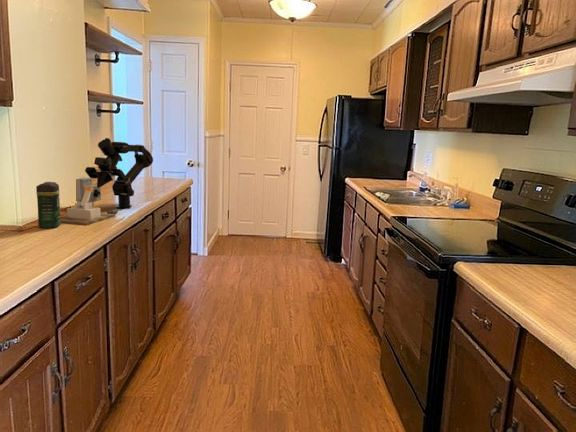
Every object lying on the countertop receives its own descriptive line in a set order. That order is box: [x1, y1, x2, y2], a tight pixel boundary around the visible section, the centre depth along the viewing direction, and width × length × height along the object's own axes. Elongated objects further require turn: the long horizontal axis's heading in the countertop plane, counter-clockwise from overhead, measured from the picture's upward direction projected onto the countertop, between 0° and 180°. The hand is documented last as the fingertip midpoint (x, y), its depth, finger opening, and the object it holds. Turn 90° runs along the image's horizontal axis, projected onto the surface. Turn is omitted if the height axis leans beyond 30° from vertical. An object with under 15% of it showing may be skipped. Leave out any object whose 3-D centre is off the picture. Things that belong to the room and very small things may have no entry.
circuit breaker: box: [76, 176, 102, 207], centre depth 229 cm, size 8×14×15 cm, turn 78°
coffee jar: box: [35, 181, 62, 229], centre depth 186 cm, size 10×8×19 cm
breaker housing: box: [66, 202, 102, 219], centre depth 203 cm, size 7×12×6 cm, turn 77°
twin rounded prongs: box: [106, 208, 119, 215], centre depth 217 cm, size 7×12×2 cm, turn 77°
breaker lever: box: [80, 186, 94, 208], centre depth 204 cm, size 2×3×10 cm, turn 77°
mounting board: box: [61, 212, 116, 226], centre depth 204 cm, size 20×18×1 cm
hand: (98, 187), depth 212 cm, fingers closed
